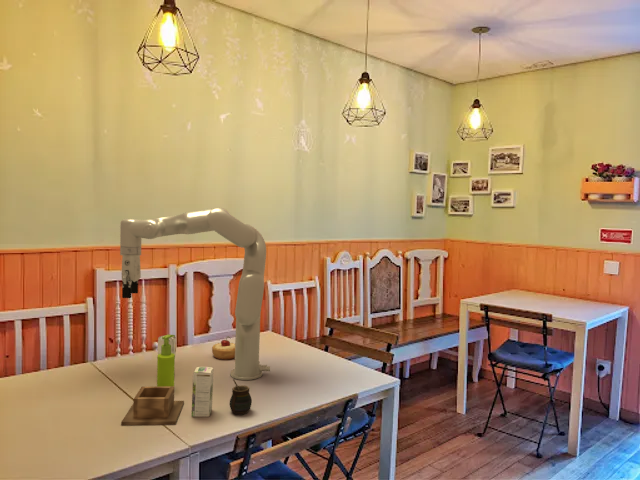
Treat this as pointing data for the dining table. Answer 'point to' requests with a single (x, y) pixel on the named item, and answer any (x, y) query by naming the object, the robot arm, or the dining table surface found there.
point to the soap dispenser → (165, 364)
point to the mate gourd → (240, 399)
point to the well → (154, 407)
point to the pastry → (224, 350)
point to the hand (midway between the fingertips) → (130, 295)
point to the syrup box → (202, 392)
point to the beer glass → (171, 341)
